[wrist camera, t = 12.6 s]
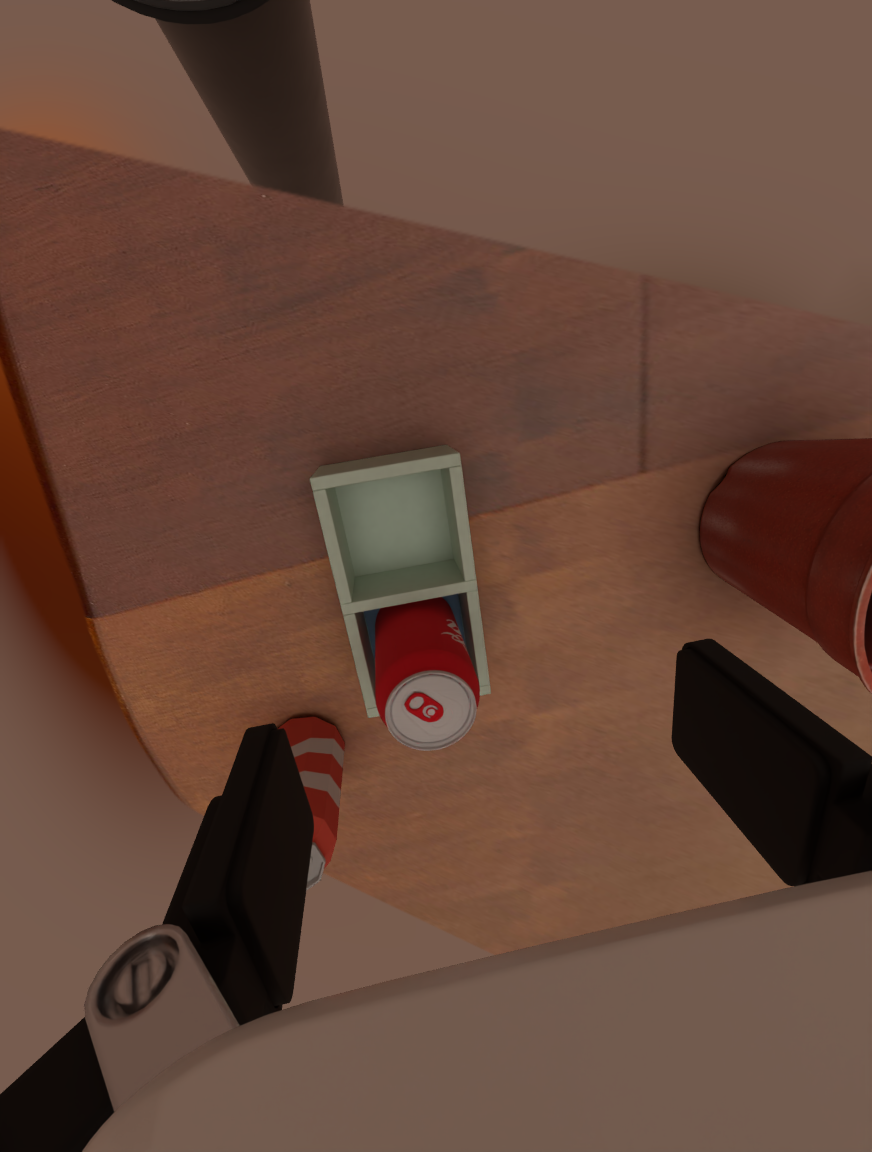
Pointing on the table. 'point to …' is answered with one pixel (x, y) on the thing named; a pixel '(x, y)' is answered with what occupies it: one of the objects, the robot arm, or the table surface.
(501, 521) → the table surface
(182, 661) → the table surface
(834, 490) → the flower pot
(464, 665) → the beverage can
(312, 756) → the beverage can
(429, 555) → the grey divided storage box
